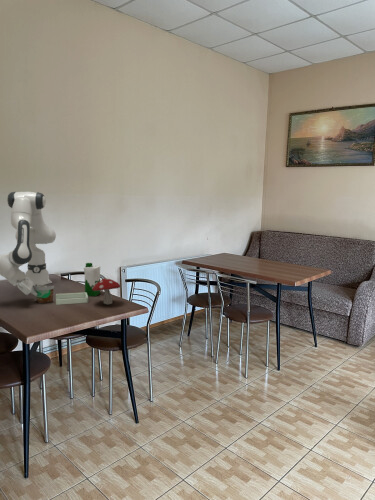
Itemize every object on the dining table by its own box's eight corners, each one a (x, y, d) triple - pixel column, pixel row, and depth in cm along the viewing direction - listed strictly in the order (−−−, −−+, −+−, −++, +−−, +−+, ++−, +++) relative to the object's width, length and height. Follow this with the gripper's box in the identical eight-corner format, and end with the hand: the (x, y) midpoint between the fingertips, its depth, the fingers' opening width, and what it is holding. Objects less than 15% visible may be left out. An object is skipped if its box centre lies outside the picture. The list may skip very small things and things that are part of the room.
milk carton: (89, 292, 247) (88, 261, 244) (102, 293, 246) (101, 262, 243) (82, 295, 239) (82, 264, 236) (96, 297, 237) (95, 265, 234)
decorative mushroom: (88, 307, 216) (88, 281, 214) (97, 299, 232) (97, 275, 230) (116, 308, 215) (116, 282, 213) (123, 300, 231) (123, 276, 229)
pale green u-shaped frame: (55, 298, 231) (55, 294, 231) (86, 296, 237) (86, 292, 237) (55, 304, 219) (55, 299, 219) (88, 302, 225) (88, 297, 225)
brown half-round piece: (29, 302, 222) (29, 285, 220) (36, 299, 228) (35, 283, 226) (48, 304, 219) (48, 287, 217) (54, 301, 225) (54, 285, 223)
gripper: (20, 278, 208) (40, 295, 212) (23, 271, 227) (41, 286, 231) (11, 287, 207) (31, 303, 211) (15, 278, 226) (33, 294, 231)
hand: (36, 294), depth 222 cm, fingers closed
